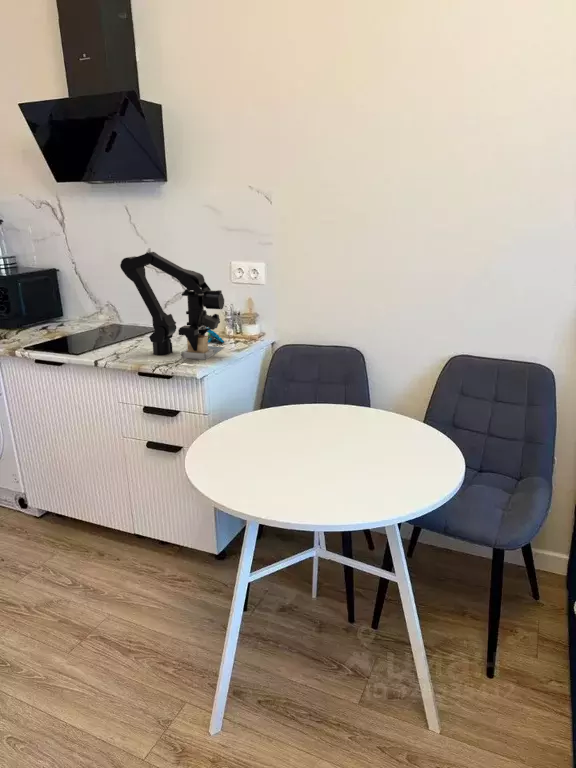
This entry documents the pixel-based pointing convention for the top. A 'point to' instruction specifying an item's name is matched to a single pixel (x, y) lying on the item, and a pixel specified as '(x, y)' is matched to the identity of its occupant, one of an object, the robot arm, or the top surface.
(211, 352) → the gray plate
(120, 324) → the top surface
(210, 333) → the gear
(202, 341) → the cardboard box
